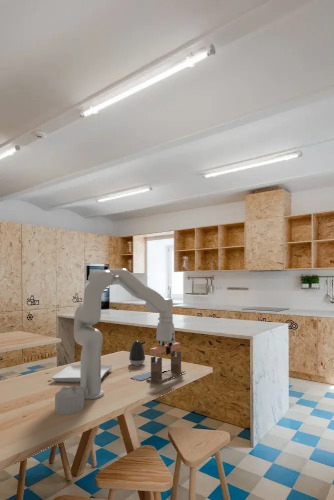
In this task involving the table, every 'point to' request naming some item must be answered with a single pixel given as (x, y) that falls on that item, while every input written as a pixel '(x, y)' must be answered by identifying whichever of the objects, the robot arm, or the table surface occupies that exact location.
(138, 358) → the pump dispenser
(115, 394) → the table surface
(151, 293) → the robot arm
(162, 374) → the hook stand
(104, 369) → the square plate
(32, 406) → the table surface
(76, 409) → the lumpy-topped squat cylinder
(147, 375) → the mat
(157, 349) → the rail
